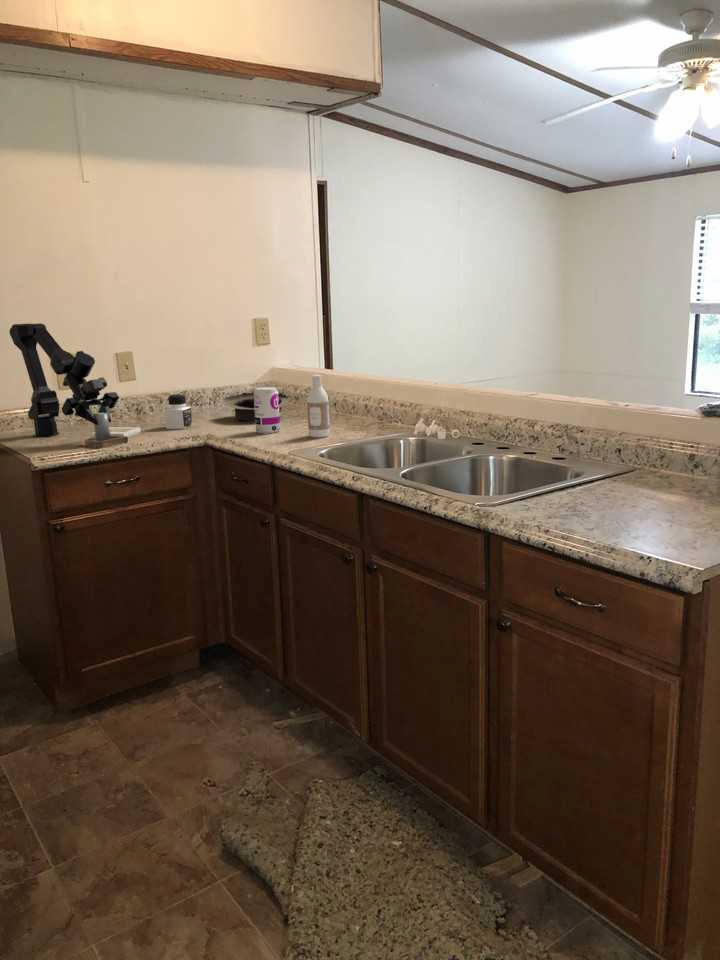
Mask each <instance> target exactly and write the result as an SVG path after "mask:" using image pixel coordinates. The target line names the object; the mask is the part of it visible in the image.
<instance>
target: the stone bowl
mask: <svg viewBox="0 0 720 960" xmlns="http://www.w3.org/2000/svg"><path fill="white" fill-rule="evenodd" d="M254 392H255V391H253V392H242V393H241V394H235V395H230V396H226V397H225V398H223V402H224V405H225V406H227V407H230V408H232V409H234V415H235V418H236V420H237V419H238V421H246V422H248V421H250V422H249V423H253V421H254V422H255V406H254ZM278 399H279V414H280V412H282V407H285V406H287V405H289V404H290V400H289V399H288V396H287V395H285V394H283V393H281V392H278Z"/></svg>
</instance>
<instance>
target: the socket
mask: <svg viewBox="0 0 720 960" xmlns="http://www.w3.org/2000/svg"><path fill="white" fill-rule="evenodd" d="M127 442H128V443H129V438H128V437H126V436H119V435H110V439H108V440H103V441H96V439H84V447H87V446H89V447H88V448H93V447H96V449H103V448H102V447H104V448H108V446H109V447H113V446H112V445H114V446H118V445H117V444H119V445H123V444H122V443H124V444H128V443H127Z"/></svg>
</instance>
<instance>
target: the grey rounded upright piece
mask: <svg viewBox="0 0 720 960" xmlns="http://www.w3.org/2000/svg"><path fill="white" fill-rule="evenodd" d="M93 414H94V416H95V417H96V419H97V421H98V424H97V425H95V424H94V423H93V427H94V432H95V438H96V439H95V440H96V441H103V440H108V439H110V429H109V427H110V423H109V420H108V413H99V412H95V413H93Z"/></svg>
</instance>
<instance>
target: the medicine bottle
mask: <svg viewBox="0 0 720 960" xmlns="http://www.w3.org/2000/svg"><path fill="white" fill-rule="evenodd" d="M167 397H168V398H167V399H168V407H169V408H166V409H164V418H165V428H166V430H185V428H186V429H188V428H190V426H191V427H193V418H192V407H191V406H187V400H186V395H185V394H184V393H183V394H181V393H179V394H178V393H177V394H176V393H175V394H171V395H168V396H167Z"/></svg>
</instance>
